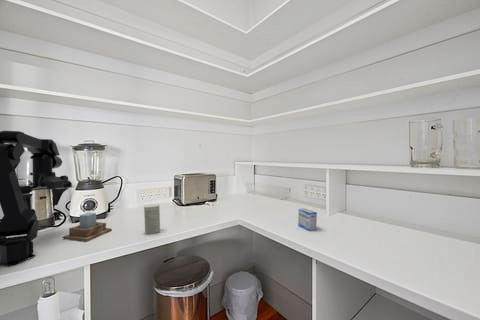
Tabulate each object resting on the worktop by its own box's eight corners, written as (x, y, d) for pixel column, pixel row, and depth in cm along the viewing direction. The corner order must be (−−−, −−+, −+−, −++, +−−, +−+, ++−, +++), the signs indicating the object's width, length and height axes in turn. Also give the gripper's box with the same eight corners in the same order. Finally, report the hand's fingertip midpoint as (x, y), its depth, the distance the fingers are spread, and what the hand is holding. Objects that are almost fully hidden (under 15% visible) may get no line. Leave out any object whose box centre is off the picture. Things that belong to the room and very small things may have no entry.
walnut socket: (86, 241, 78) (86, 232, 78) (62, 239, 80) (62, 229, 80) (111, 230, 90) (111, 222, 90) (90, 228, 92) (90, 220, 92)
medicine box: (297, 226, 98) (297, 208, 98) (304, 224, 100) (304, 207, 100) (310, 231, 91) (310, 213, 91) (316, 229, 93) (317, 211, 93)
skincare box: (160, 229, 92) (160, 203, 92) (159, 232, 88) (159, 205, 88) (145, 231, 90) (145, 204, 90) (144, 234, 86) (144, 207, 85)
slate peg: (87, 234, 83) (87, 215, 83) (79, 233, 83) (79, 215, 83) (96, 231, 87) (96, 213, 86) (88, 230, 87) (88, 212, 87)
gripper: (28, 172, 69) (29, 216, 69) (81, 168, 87) (81, 203, 87) (5, 171, 71) (6, 214, 71) (61, 168, 89) (62, 202, 89)
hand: (43, 208), depth 80 cm, fingers open, 9 cm apart
